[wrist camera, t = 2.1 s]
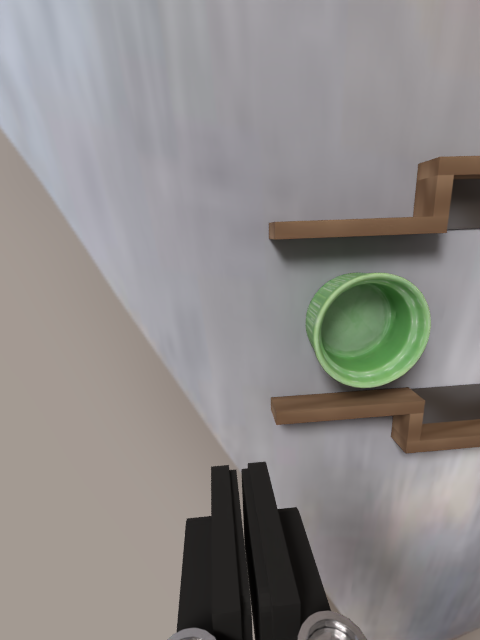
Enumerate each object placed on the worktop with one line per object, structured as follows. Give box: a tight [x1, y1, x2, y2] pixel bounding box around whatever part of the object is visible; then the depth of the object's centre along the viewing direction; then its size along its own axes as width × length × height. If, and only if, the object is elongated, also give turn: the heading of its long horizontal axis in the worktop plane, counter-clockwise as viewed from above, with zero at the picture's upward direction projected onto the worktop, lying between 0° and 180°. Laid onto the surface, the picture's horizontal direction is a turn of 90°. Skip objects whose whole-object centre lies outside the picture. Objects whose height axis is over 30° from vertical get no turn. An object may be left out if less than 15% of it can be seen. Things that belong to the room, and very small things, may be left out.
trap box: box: [269, 156, 480, 453], centre depth 28 cm, size 24×30×2 cm
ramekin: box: [306, 273, 431, 388], centre depth 26 cm, size 9×9×4 cm
